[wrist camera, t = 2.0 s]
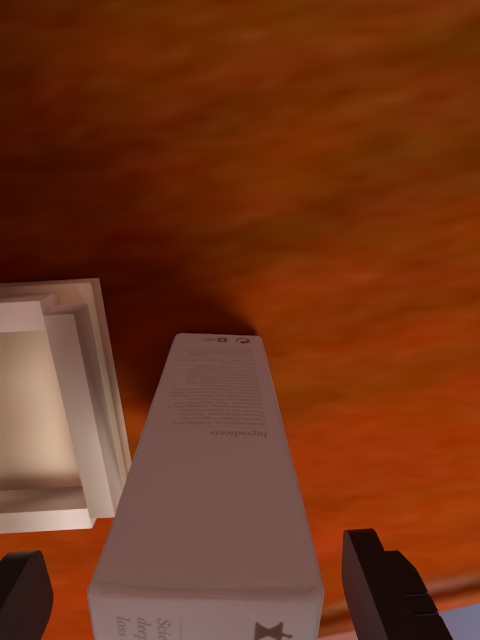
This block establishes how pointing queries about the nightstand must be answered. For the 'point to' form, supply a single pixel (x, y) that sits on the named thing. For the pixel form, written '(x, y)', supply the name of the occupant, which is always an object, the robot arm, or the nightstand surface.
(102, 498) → the white shallow tray
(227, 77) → the nightstand surface
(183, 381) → the skincare box
